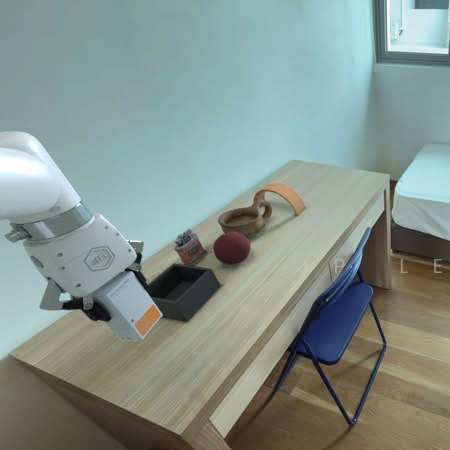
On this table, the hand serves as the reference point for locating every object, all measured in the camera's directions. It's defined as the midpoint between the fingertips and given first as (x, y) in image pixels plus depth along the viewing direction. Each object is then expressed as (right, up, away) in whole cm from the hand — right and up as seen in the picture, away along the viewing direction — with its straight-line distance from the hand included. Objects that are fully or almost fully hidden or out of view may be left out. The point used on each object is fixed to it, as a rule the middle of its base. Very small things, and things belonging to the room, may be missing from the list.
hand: (123, 302), depth 55 cm
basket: (-9, -7, +29) cm, 31 cm away
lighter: (-16, +3, +43) cm, 46 cm away
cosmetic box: (0, -6, +4) cm, 7 cm away
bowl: (-4, +12, +56) cm, 57 cm away
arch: (+2, +20, +67) cm, 70 cm away
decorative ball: (-2, +2, +42) cm, 42 cm away
